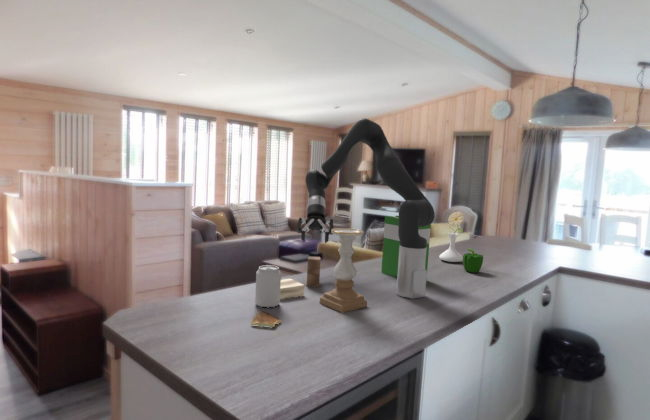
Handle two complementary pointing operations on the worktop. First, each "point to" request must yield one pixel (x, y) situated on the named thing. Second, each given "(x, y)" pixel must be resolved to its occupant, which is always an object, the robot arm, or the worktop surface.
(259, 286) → the can
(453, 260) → the flower in vase
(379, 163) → the robot arm
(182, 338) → the worktop surface
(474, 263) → the bell pepper
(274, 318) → the sandwich
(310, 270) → the walnut pillar
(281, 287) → the birch block
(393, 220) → the green and white box
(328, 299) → the candle holder
